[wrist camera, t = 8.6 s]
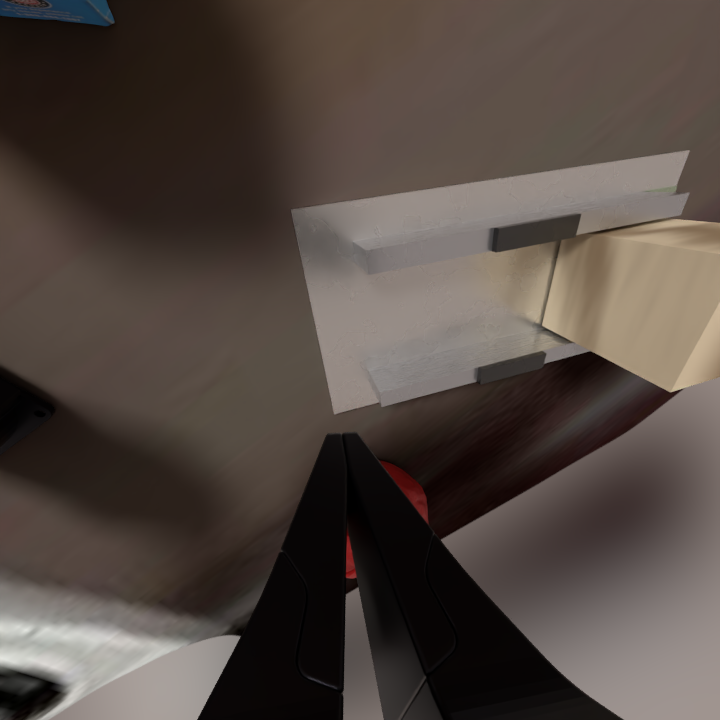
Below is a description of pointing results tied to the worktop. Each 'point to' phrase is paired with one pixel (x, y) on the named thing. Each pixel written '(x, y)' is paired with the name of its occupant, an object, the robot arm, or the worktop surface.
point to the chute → (459, 273)
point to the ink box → (60, 10)
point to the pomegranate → (409, 489)
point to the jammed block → (643, 298)
